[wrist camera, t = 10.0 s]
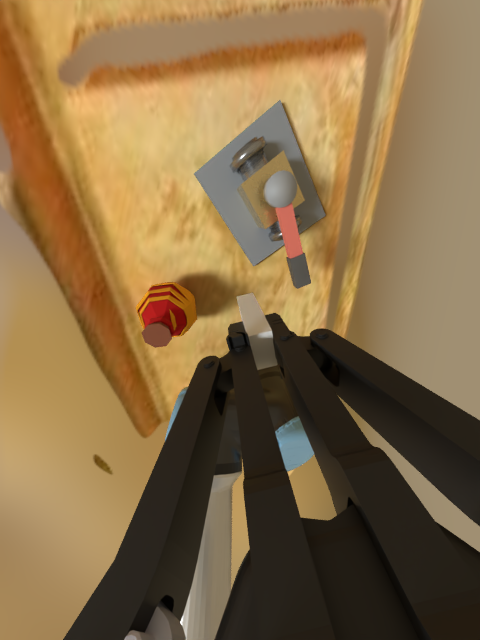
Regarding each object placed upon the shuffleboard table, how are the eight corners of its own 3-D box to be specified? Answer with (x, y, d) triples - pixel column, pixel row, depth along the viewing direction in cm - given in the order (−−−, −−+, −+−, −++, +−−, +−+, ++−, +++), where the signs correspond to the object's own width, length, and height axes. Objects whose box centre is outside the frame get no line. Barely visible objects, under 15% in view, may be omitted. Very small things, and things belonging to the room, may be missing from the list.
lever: (259, 180, 27) (262, 178, 25) (287, 168, 26) (293, 164, 25) (288, 287, 34) (292, 291, 32) (311, 278, 34) (316, 281, 32)
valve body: (298, 220, 38) (318, 222, 30) (266, 243, 39) (279, 250, 31) (259, 138, 31) (274, 114, 24) (223, 168, 33) (226, 155, 25)
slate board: (323, 215, 38) (325, 215, 37) (252, 265, 41) (253, 266, 40) (278, 103, 30) (280, 99, 29) (194, 174, 33) (193, 173, 32)
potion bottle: (194, 323, 45) (186, 368, 32) (146, 313, 43) (116, 357, 30) (205, 280, 41) (200, 311, 28) (152, 266, 39) (120, 292, 25)
